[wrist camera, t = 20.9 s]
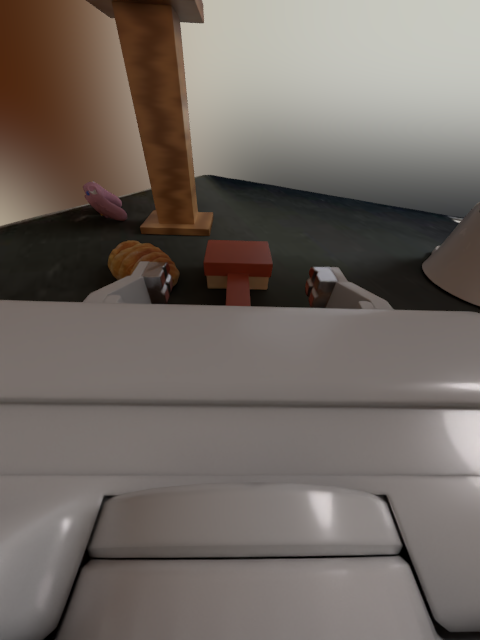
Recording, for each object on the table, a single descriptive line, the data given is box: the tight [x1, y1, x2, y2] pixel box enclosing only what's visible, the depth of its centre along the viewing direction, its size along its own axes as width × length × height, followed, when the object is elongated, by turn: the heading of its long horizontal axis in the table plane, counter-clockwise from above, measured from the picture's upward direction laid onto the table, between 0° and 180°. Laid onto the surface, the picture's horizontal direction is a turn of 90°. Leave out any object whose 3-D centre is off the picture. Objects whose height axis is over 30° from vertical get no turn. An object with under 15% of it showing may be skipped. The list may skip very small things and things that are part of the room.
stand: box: [86, 0, 213, 236], centre depth 34 cm, size 12×9×26 cm
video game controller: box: [83, 181, 127, 221], centre depth 43 cm, size 10×5×7 cm, turn 27°
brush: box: [204, 240, 273, 306], centre depth 25 cm, size 8×17×4 cm, turn 1°
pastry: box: [108, 241, 180, 286], centre depth 28 cm, size 9×7×4 cm
